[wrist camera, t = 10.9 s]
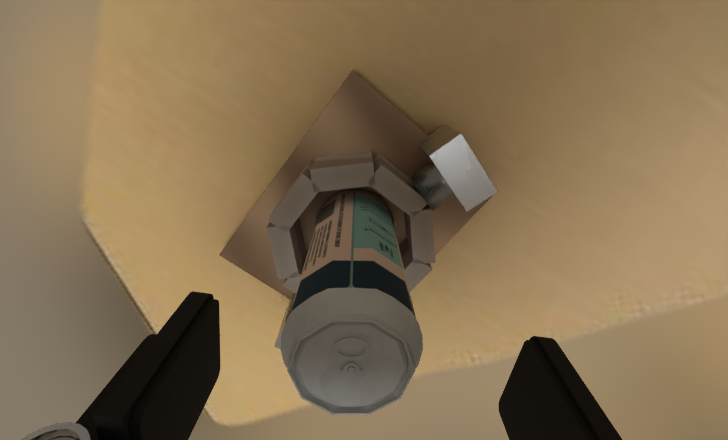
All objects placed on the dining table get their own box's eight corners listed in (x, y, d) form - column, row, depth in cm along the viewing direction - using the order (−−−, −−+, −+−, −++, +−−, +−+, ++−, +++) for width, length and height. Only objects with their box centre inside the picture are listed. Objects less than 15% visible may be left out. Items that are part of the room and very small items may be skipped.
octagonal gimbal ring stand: (352, 70, 20) (351, 68, 16) (488, 187, 23) (515, 209, 19) (225, 246, 24) (199, 279, 20) (354, 328, 27) (353, 371, 23)
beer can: (317, 256, 23) (279, 425, 12) (315, 186, 21) (267, 305, 10) (391, 257, 23) (422, 425, 12) (395, 187, 21) (435, 307, 10)
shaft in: (430, 204, 22) (443, 226, 19) (397, 158, 21) (405, 173, 17) (476, 174, 21) (497, 191, 18) (444, 124, 20) (461, 133, 17)
